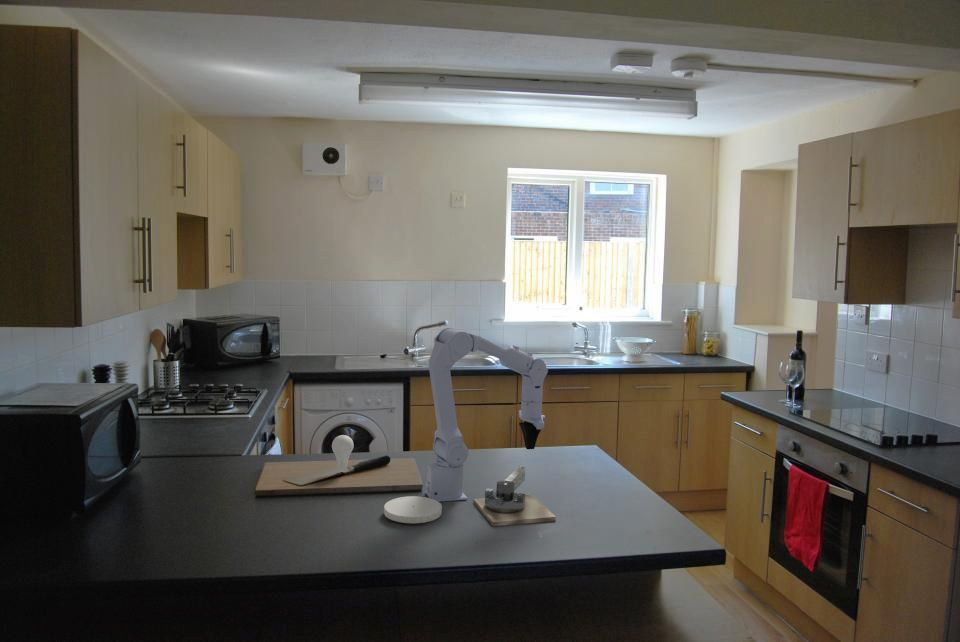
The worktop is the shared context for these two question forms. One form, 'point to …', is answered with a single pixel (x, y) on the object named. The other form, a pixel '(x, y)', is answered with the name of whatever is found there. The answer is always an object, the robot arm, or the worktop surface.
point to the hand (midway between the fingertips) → (529, 448)
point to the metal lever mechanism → (507, 494)
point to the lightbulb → (342, 449)
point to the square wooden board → (517, 513)
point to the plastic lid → (412, 509)
